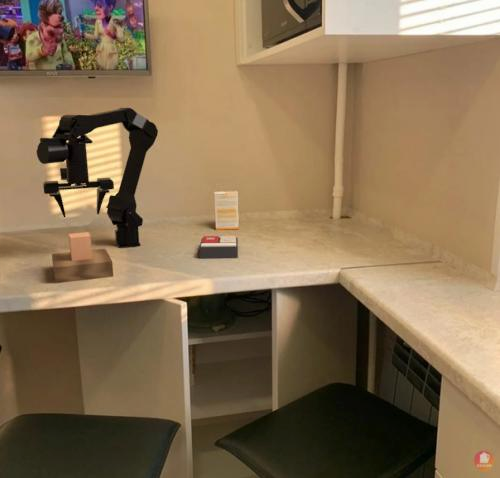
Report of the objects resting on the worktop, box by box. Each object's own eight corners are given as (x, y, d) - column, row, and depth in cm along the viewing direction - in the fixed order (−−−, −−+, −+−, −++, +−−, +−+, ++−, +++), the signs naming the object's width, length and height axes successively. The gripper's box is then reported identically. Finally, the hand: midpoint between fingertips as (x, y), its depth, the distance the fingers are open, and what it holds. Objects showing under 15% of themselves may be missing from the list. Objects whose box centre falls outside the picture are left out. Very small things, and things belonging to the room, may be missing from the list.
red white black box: (237, 234, 171) (237, 244, 156) (237, 248, 171) (237, 258, 157) (201, 235, 170) (198, 244, 156) (202, 248, 171) (199, 259, 156)
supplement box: (238, 226, 197) (237, 190, 194) (238, 229, 192) (238, 192, 189) (215, 227, 197) (214, 190, 194) (215, 230, 192) (214, 192, 189)
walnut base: (106, 262, 153) (105, 248, 152) (113, 276, 141) (112, 261, 140) (53, 268, 148) (51, 253, 148) (55, 283, 136) (53, 267, 135)
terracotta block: (90, 254, 147) (88, 232, 145) (92, 258, 142) (90, 236, 141) (70, 256, 145) (68, 233, 144) (72, 260, 141) (69, 238, 139)
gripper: (106, 156, 165) (110, 208, 168) (40, 159, 158) (45, 213, 162) (112, 160, 155) (116, 214, 158) (41, 163, 148) (47, 220, 152)
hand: (81, 215), depth 158 cm, fingers open, 9 cm apart
